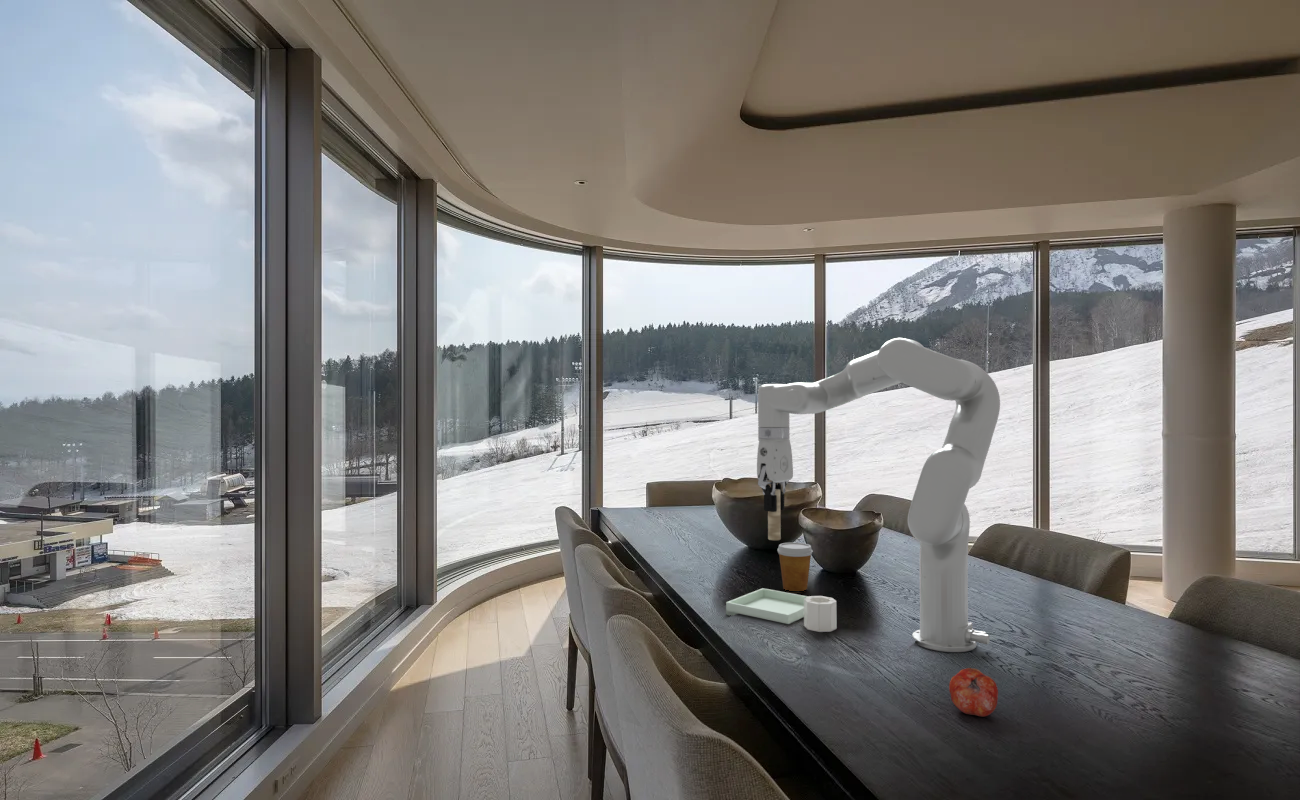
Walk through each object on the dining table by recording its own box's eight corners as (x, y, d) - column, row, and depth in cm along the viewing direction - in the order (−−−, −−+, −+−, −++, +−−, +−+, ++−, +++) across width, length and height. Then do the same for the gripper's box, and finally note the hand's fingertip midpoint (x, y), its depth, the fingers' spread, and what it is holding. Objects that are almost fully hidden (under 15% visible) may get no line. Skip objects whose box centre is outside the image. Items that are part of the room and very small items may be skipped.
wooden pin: (782, 538, 177) (782, 489, 177) (776, 540, 175) (776, 490, 175) (772, 537, 179) (771, 488, 179) (765, 539, 177) (765, 489, 177)
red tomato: (948, 715, 124) (939, 695, 117) (959, 674, 127) (950, 653, 120) (995, 732, 119) (988, 712, 113) (1005, 689, 123) (999, 667, 116)
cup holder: (840, 630, 163) (840, 599, 163) (827, 638, 158) (827, 605, 158) (813, 624, 167) (813, 594, 167) (799, 632, 162) (799, 600, 162)
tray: (823, 611, 178) (823, 599, 178) (788, 628, 165) (788, 615, 165) (762, 599, 189) (762, 588, 189) (726, 614, 176) (726, 602, 176)
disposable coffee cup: (810, 585, 203) (810, 542, 203) (815, 594, 194) (814, 549, 194) (776, 584, 204) (775, 542, 204) (778, 593, 195) (778, 548, 195)
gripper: (770, 436, 168) (770, 516, 168) (803, 433, 181) (804, 507, 181) (742, 435, 173) (742, 513, 173) (777, 433, 185) (777, 505, 185)
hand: (774, 509), depth 177 cm, fingers closed on wooden pin, 3 cm apart
